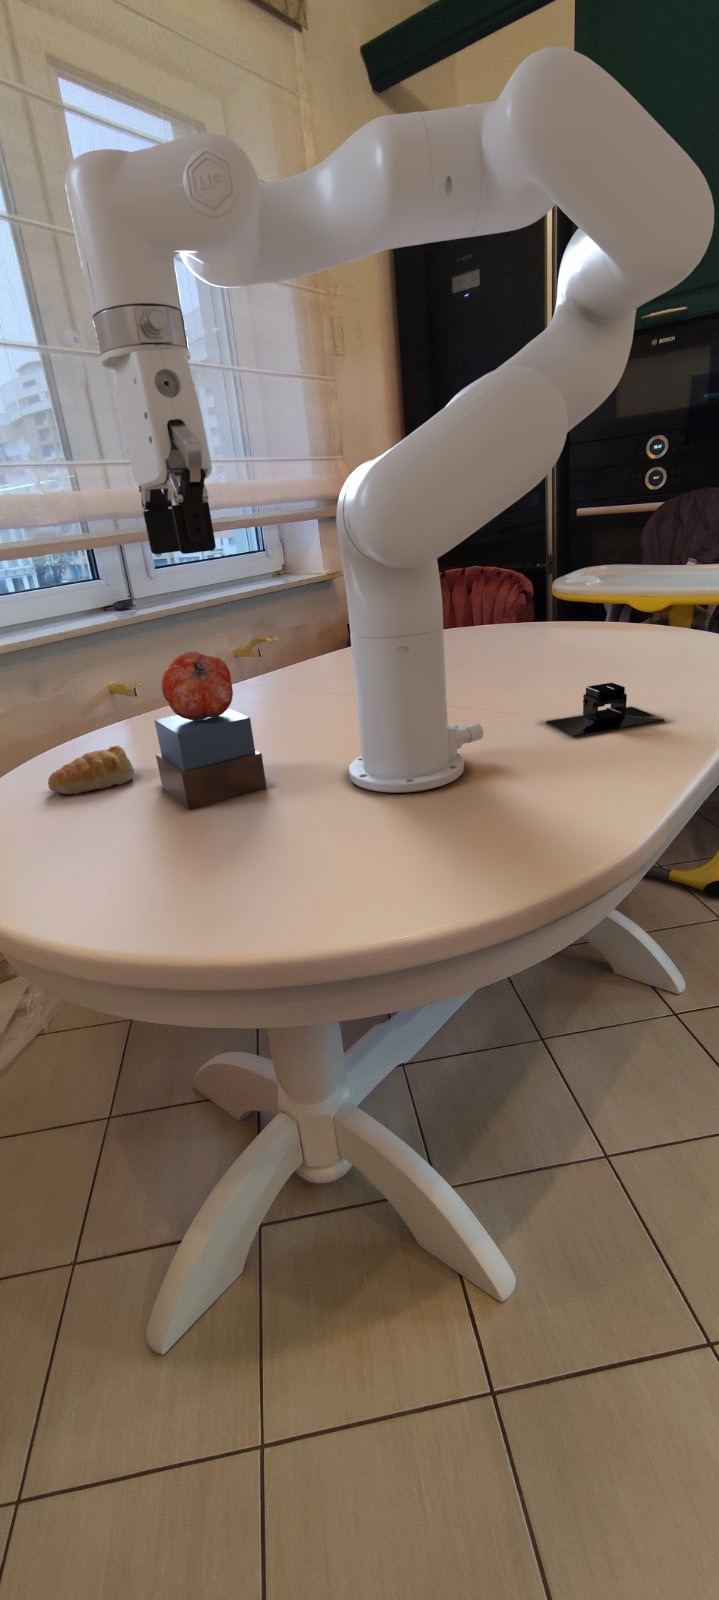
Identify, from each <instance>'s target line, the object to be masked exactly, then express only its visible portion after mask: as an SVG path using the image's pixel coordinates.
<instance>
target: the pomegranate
mask: <svg viewBox="0 0 719 1600" xmlns="http://www.w3.org/2000/svg"><path fill="white" fill-rule="evenodd" d="M160 683H161V693H162V695H163V698H164V699H165V700H166V701H167V703H168V706H169V707H170V709H171V710H172V712H173V713H174V714H175V715H179V716H180V717H182V718H185V719H189V720H193V721H196V720H202V719H205V718H208V717H218V716H220V715H221V714H223V713H224V712H225V711H226V710H227V709H228V708H230V706H231V704H232V702H233V695H234V690H233V683H232V676H231V671H230V669H229V667H228V666H227V663H226V662H225V661H223V660H222V659H221V658H220V657H217V656H213V655H205V654H203V653H201V652H200V651H187V652H184V653H182V654H179V655H178V656H177V657H175V658H173V661H172V662H171V663H170V665H169V666H168V668H167V669H166V670H165V671H164V672H163V674H162V678H161V682H160Z"/></svg>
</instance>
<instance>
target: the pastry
mask: <svg viewBox="0 0 719 1600" xmlns="http://www.w3.org/2000/svg"><path fill="white" fill-rule="evenodd" d="M134 774H135V770H134V766H133V764H132V762H131V760H130V759H129V757H128V756H127V754H126V751H125V750H124V748H122V747H121V746H120V745H114V746H109V748H107V749H101V750H94V751H89V752H86V753H84V754H83V755H81V756H80V757H77V758H75V759H74V760H73V761H71V762H68V763H65V764H64V765H63V766H62V767H60V768H59V769H57V770H56V771H53V772H52V773H51V774H50V775H49V777H48V782H47V784H48V789H49V790H50V791H52V792H55V793H60V794H67V795H69V796H70V795H71V794H73V795H79V794H80V793H84V792H91V791H94V790H95V791H96V790H102V789H105V788H110V787H112V786H113V785H122V784H126V783H127V782H129V781H131V780H133V779H134Z"/></svg>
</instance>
